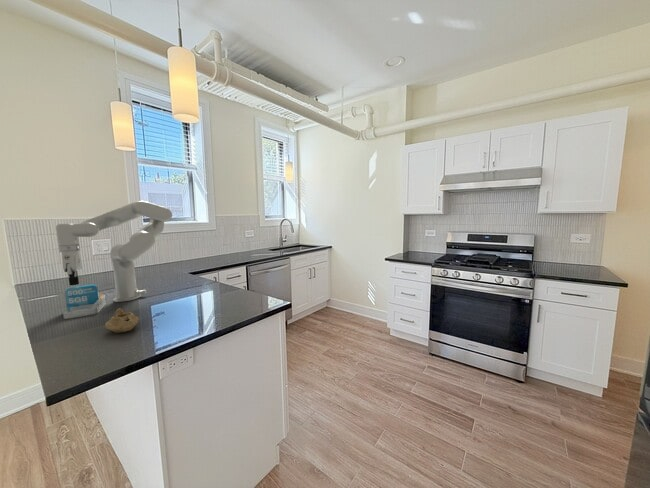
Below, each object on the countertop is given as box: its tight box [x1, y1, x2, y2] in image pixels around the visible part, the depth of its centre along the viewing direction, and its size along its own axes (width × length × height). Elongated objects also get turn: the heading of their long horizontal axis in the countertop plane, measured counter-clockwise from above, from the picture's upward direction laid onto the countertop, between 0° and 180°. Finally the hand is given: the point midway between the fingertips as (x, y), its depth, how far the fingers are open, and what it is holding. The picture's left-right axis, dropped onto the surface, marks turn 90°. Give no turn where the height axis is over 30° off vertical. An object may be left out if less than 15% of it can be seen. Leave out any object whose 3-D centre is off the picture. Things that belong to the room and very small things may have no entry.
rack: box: [62, 293, 107, 320], centre depth 134 cm, size 12×18×5 cm, turn 29°
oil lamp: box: [104, 307, 140, 334], centre depth 108 cm, size 11×15×8 cm
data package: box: [64, 283, 99, 312], centre depth 136 cm, size 12×4×12 cm, turn 132°
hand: (74, 284), depth 135 cm, fingers closed
